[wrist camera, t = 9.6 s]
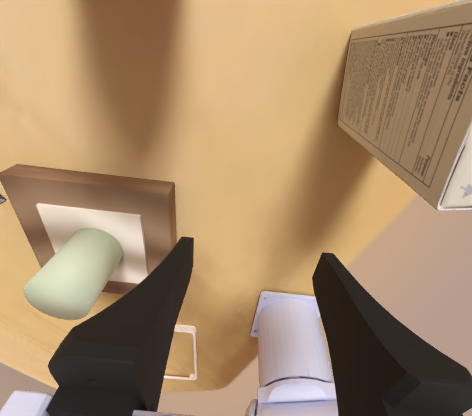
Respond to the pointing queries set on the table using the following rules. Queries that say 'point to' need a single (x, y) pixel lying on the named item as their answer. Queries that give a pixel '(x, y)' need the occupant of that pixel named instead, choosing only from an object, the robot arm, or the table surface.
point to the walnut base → (95, 215)
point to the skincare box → (415, 99)
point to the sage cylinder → (75, 275)
